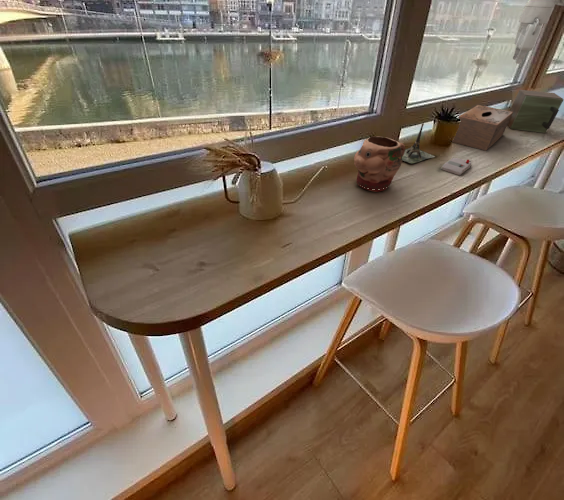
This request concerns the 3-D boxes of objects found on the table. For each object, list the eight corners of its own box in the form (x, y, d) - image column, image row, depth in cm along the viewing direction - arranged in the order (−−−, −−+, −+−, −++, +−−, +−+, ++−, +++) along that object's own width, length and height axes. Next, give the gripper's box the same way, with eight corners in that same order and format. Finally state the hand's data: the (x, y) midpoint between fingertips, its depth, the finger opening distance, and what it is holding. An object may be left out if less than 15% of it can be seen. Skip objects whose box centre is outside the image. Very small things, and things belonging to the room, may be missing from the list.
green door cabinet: (544, 132, 150) (563, 98, 141) (510, 128, 153) (525, 95, 144) (537, 125, 158) (554, 92, 149) (504, 121, 161) (519, 89, 152)
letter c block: (549, 136, 145) (568, 102, 136) (513, 132, 148) (529, 99, 139) (545, 132, 149) (563, 99, 141) (510, 128, 152) (525, 95, 144)
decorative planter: (380, 169, 112) (389, 128, 103) (410, 182, 105) (423, 140, 96) (339, 184, 102) (346, 140, 93) (369, 200, 95) (380, 154, 86)
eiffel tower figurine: (413, 148, 129) (423, 112, 120) (435, 156, 123) (448, 120, 114) (388, 155, 122) (397, 119, 113) (411, 165, 115) (422, 127, 107)
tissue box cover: (486, 150, 129) (497, 125, 123) (449, 141, 136) (458, 116, 130) (502, 135, 144) (513, 111, 138) (469, 127, 152) (477, 104, 145)
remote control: (438, 170, 113) (441, 162, 111) (455, 158, 122) (459, 150, 120) (457, 177, 109) (461, 168, 107) (474, 164, 118) (477, 156, 116)
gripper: (550, 19, 107) (529, 66, 115) (540, 15, 121) (522, 58, 130) (529, 18, 109) (509, 65, 117) (521, 14, 123) (504, 56, 132)
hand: (516, 61), depth 124 cm, fingers open, 8 cm apart
